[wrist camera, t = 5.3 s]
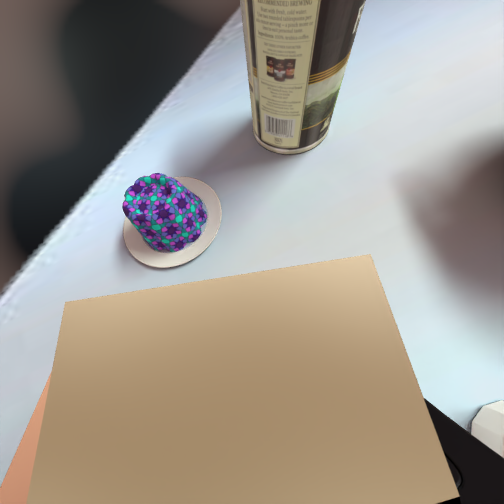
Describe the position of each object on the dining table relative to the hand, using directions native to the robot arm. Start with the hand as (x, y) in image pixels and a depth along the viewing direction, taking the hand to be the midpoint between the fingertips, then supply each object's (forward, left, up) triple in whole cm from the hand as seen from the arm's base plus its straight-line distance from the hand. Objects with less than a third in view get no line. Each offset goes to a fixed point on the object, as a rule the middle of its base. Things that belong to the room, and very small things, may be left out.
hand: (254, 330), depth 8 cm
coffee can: (+26, +1, -11) cm, 28 cm away
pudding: (+10, +13, -11) cm, 19 cm away
